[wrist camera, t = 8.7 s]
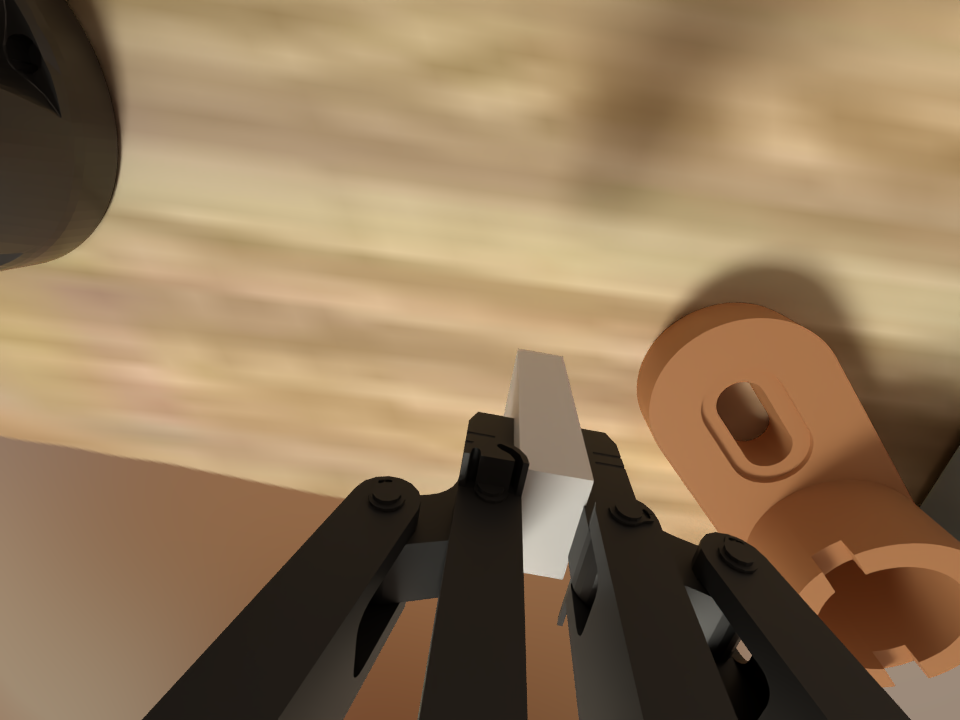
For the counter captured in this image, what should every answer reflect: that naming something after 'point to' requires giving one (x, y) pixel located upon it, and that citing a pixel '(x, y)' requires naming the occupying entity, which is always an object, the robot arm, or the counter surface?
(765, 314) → the bracket
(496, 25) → the counter surface
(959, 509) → the plate
